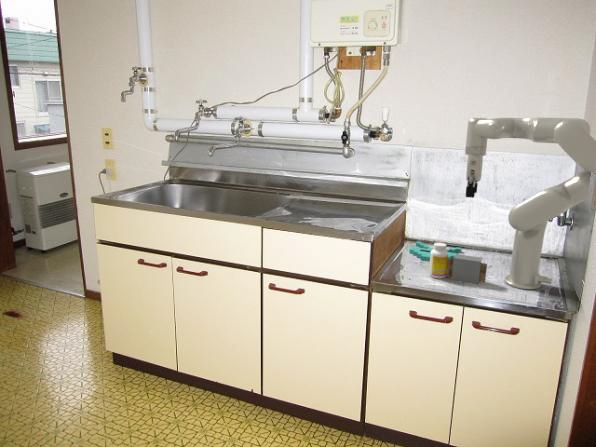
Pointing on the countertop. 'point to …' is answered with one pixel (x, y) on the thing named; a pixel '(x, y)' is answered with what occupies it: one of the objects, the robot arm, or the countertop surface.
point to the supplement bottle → (438, 261)
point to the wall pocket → (466, 269)
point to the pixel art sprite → (425, 251)
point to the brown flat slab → (481, 276)
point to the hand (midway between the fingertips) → (471, 194)
